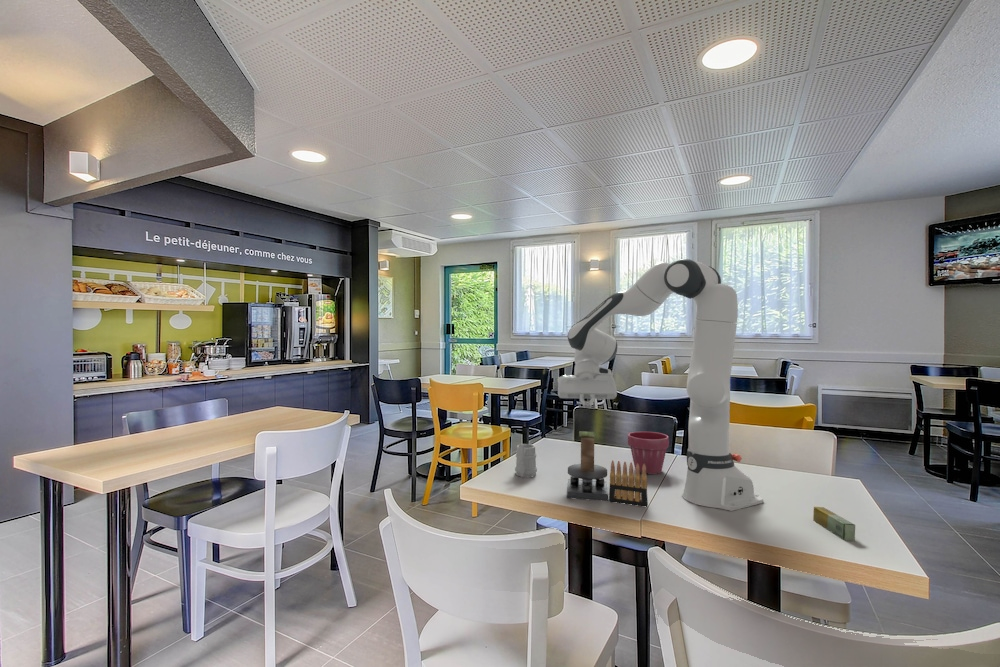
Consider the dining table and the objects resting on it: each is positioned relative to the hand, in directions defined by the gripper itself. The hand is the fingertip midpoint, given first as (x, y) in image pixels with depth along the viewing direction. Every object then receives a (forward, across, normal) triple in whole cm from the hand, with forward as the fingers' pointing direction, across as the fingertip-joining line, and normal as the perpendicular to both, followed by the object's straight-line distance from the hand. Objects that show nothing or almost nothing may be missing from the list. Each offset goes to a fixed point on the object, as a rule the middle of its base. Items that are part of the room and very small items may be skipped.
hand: (587, 406), depth 154 cm
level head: (+23, 0, +3) cm, 23 cm away
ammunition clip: (+32, +11, +3) cm, 34 cm away
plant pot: (+8, +21, +27) cm, 35 cm away
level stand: (+27, 0, +7) cm, 28 cm away
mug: (+18, -21, +16) cm, 32 cm away
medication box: (+39, +60, -3) cm, 72 cm away
